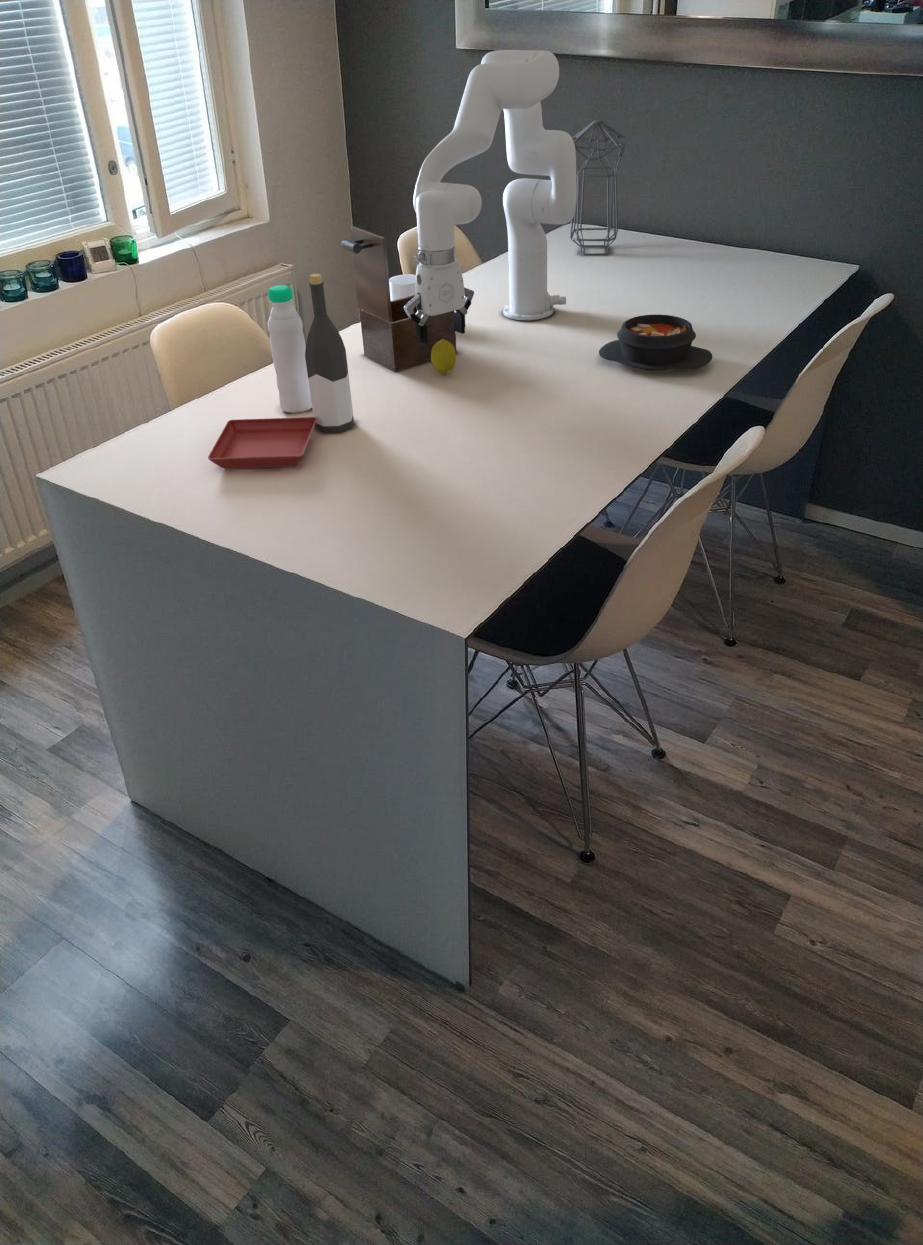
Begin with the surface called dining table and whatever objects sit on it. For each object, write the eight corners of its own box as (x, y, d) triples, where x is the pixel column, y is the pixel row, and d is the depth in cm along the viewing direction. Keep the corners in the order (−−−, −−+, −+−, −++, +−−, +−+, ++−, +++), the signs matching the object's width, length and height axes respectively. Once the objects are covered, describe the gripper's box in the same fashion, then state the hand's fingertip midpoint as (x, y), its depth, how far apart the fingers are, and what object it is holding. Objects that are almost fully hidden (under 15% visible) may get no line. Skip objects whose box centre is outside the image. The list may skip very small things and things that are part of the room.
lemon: (431, 370, 226) (429, 335, 221) (456, 368, 226) (454, 333, 222) (432, 380, 221) (430, 344, 217) (457, 378, 222) (456, 342, 217)
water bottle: (319, 402, 214) (303, 283, 200) (305, 415, 209) (287, 294, 194) (290, 399, 216) (272, 281, 202) (274, 412, 211) (254, 292, 197)
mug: (442, 320, 254) (440, 278, 248) (423, 330, 248) (420, 288, 242) (405, 313, 260) (402, 272, 254) (385, 322, 254) (381, 281, 248)
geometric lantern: (565, 258, 293) (567, 126, 273) (570, 243, 306) (571, 116, 285) (620, 258, 290) (626, 124, 270) (622, 243, 303) (628, 114, 283)
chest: (424, 338, 243) (420, 293, 237) (456, 353, 234) (454, 306, 228) (364, 355, 236) (359, 309, 230) (395, 371, 226) (391, 324, 220)
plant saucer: (231, 433, 203) (228, 418, 201) (319, 431, 202) (317, 415, 200) (209, 474, 188) (206, 458, 186) (305, 472, 187) (303, 455, 185)
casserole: (720, 354, 226) (724, 317, 221) (699, 384, 212) (703, 345, 207) (613, 342, 235) (615, 306, 230) (586, 370, 222) (587, 333, 217)
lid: (352, 225, 220) (330, 230, 217) (385, 237, 210) (362, 242, 208) (360, 306, 230) (339, 312, 227) (392, 321, 220) (370, 327, 218)
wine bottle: (361, 420, 205) (345, 270, 188) (341, 436, 200) (322, 283, 182) (328, 415, 208) (308, 267, 191) (307, 430, 203) (285, 279, 185)
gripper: (411, 267, 202) (417, 350, 212) (481, 251, 210) (483, 332, 220) (392, 260, 208) (398, 341, 217) (461, 245, 216) (464, 324, 225)
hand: (441, 337), depth 219 cm, fingers open, 9 cm apart
